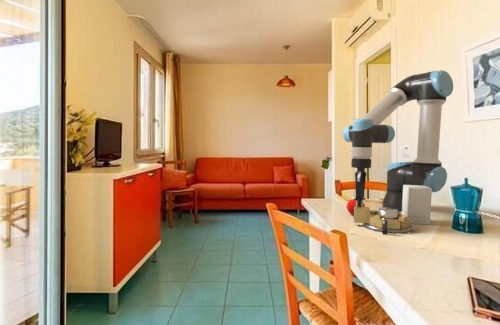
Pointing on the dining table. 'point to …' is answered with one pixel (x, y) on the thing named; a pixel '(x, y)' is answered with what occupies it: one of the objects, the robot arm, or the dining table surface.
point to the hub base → (387, 214)
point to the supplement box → (417, 203)
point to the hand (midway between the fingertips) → (359, 215)
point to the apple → (352, 206)
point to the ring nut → (379, 218)
